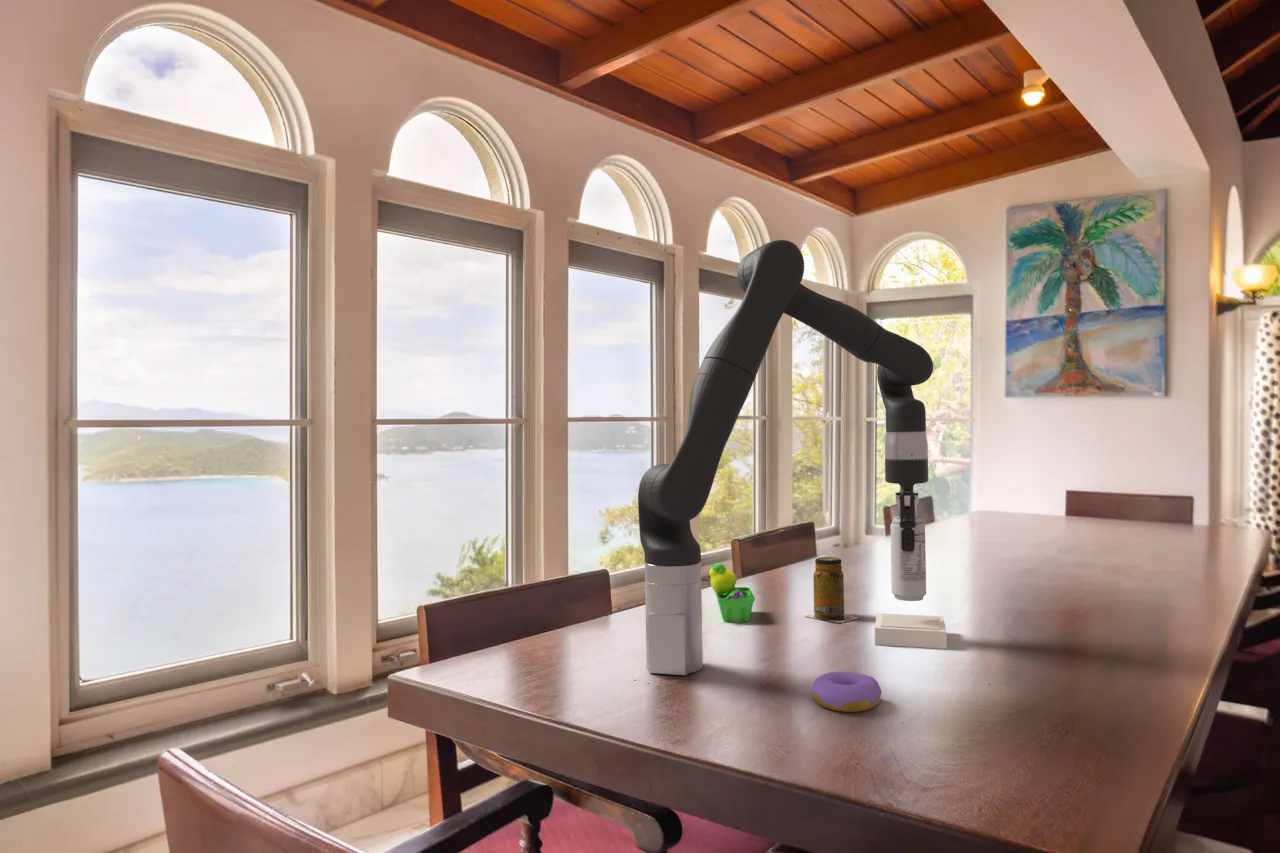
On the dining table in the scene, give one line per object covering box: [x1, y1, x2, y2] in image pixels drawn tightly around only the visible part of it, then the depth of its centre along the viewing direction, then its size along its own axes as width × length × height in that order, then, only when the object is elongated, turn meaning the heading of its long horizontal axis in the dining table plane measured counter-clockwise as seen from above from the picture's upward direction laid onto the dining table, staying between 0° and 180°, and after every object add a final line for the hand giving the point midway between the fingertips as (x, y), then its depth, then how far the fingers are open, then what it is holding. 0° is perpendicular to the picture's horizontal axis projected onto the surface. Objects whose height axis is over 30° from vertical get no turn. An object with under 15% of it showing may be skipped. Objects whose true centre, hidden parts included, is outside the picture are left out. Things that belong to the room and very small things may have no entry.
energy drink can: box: [889, 514, 927, 602], centre depth 152 cm, size 6×6×15 cm
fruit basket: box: [708, 562, 756, 623], centre depth 172 cm, size 11×9×11 cm
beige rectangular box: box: [874, 612, 948, 650], centre depth 152 cm, size 12×12×3 cm
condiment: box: [805, 556, 861, 624], centre depth 170 cm, size 7×8×12 cm
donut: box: [811, 671, 882, 713], centre depth 117 cm, size 10×9×5 cm
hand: (907, 548), depth 152 cm, fingers closed on energy drink can, 6 cm apart
